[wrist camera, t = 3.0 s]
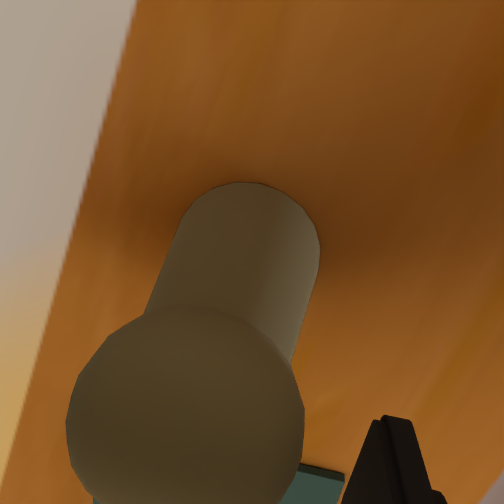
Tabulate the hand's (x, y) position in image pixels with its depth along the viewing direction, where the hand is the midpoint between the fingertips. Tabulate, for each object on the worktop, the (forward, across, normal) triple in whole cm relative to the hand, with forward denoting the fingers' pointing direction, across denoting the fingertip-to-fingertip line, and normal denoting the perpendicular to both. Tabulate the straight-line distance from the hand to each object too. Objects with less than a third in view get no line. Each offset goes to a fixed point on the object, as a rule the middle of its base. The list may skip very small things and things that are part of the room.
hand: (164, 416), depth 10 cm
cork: (+9, -1, 0) cm, 9 cm away
